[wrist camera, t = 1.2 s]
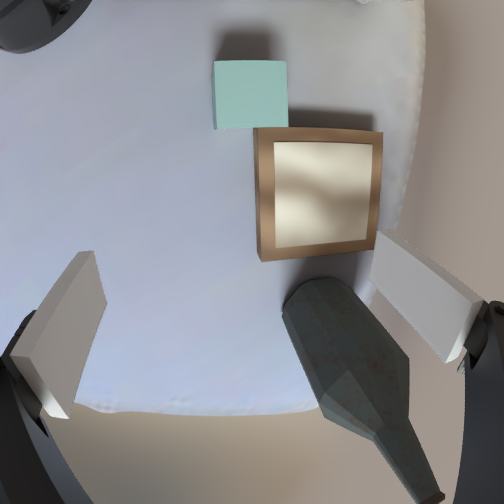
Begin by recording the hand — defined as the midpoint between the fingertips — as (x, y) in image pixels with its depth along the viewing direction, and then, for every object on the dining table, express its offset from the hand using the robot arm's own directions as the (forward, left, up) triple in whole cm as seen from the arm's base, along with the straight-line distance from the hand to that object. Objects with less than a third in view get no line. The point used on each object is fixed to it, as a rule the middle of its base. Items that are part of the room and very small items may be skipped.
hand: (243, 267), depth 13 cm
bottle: (+17, +12, -19) cm, 29 cm away
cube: (-9, +3, -19) cm, 21 cm away
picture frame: (+1, +11, -19) cm, 22 cm away
